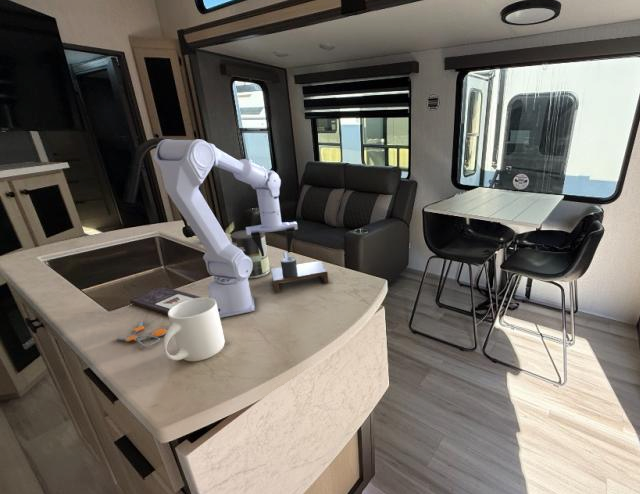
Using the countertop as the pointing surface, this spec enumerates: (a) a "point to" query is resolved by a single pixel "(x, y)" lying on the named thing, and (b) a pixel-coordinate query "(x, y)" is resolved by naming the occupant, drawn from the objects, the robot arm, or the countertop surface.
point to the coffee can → (252, 252)
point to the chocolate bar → (162, 299)
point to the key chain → (140, 338)
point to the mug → (195, 330)
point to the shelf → (300, 273)
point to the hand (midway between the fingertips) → (276, 253)
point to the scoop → (288, 266)
